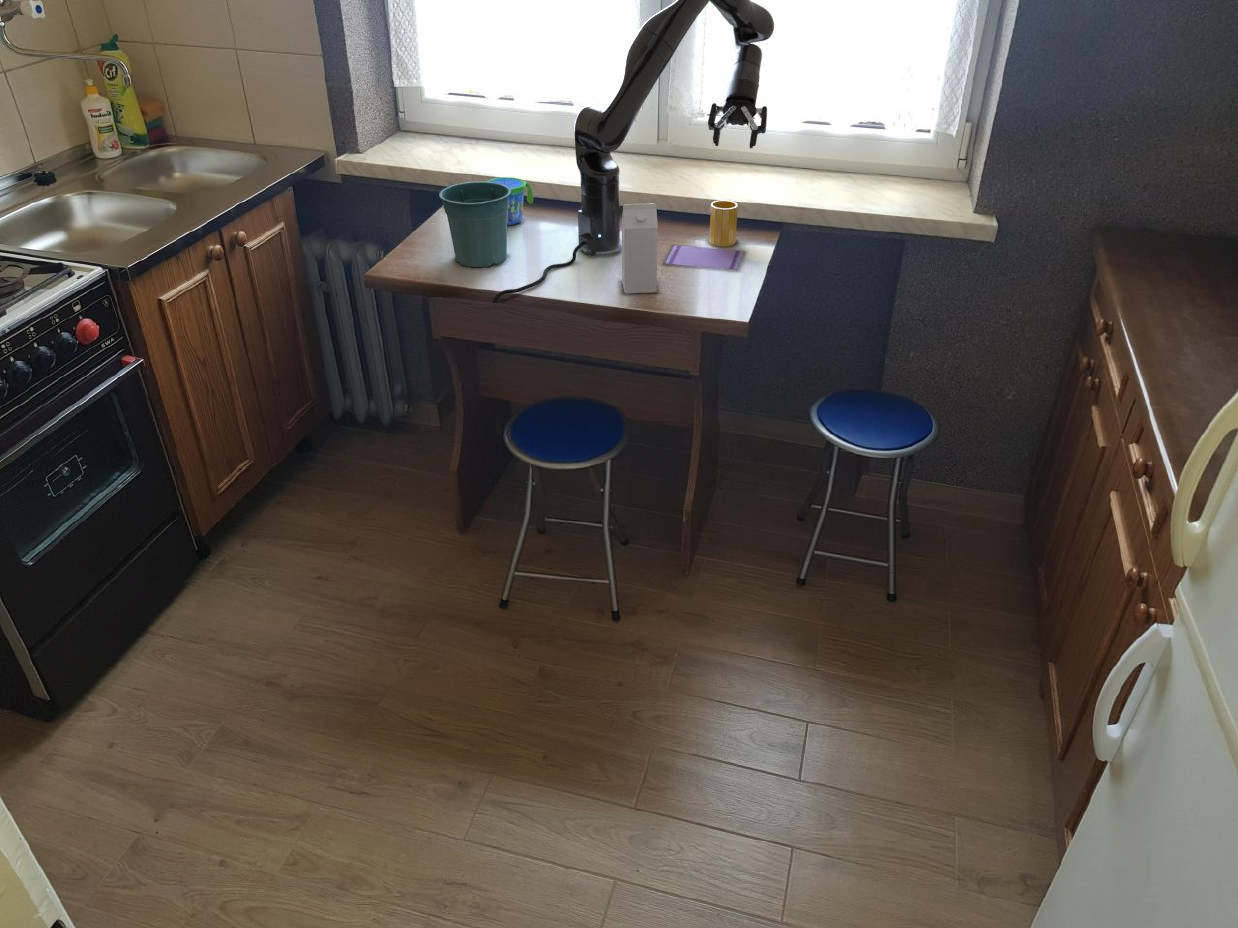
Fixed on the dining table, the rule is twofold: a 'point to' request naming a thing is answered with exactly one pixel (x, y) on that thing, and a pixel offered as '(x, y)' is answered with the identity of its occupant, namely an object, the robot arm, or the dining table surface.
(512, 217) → the snack cup
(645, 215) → the milk carton
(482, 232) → the flower pot
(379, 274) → the dining table surface
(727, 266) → the cloth
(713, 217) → the tumbler
